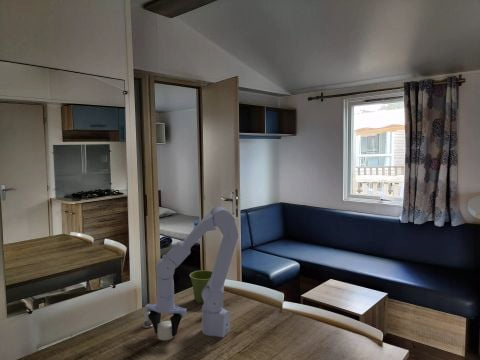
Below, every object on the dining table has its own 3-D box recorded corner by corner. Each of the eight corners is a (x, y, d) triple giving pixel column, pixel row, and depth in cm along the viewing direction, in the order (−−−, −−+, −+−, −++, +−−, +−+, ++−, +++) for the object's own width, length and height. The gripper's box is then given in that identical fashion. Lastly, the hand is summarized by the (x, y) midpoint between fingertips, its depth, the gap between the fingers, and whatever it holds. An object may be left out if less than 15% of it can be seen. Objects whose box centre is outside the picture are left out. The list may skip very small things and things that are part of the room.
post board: (191, 332, 131) (191, 315, 130) (177, 346, 121) (176, 328, 121) (144, 323, 138) (143, 307, 137) (126, 335, 129) (126, 318, 128)
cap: (177, 333, 128) (177, 322, 128) (168, 341, 123) (168, 329, 122) (163, 330, 130) (163, 319, 130) (154, 338, 125) (154, 326, 124)
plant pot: (206, 308, 151) (206, 281, 150) (184, 302, 157) (183, 276, 156) (223, 298, 161) (222, 272, 160) (201, 293, 167) (200, 268, 166)
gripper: (190, 292, 127) (190, 331, 128) (152, 288, 131) (153, 325, 132) (181, 300, 120) (181, 341, 121) (141, 295, 124) (142, 335, 125)
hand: (166, 333), depth 126 cm, fingers closed on cap, 6 cm apart
